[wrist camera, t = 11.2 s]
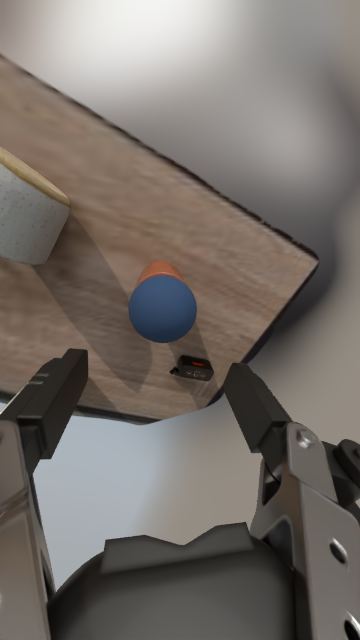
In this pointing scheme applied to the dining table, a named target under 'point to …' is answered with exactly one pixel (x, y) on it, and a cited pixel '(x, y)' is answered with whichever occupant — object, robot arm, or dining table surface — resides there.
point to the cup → (159, 271)
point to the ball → (162, 309)
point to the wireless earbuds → (193, 368)
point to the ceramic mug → (28, 212)
